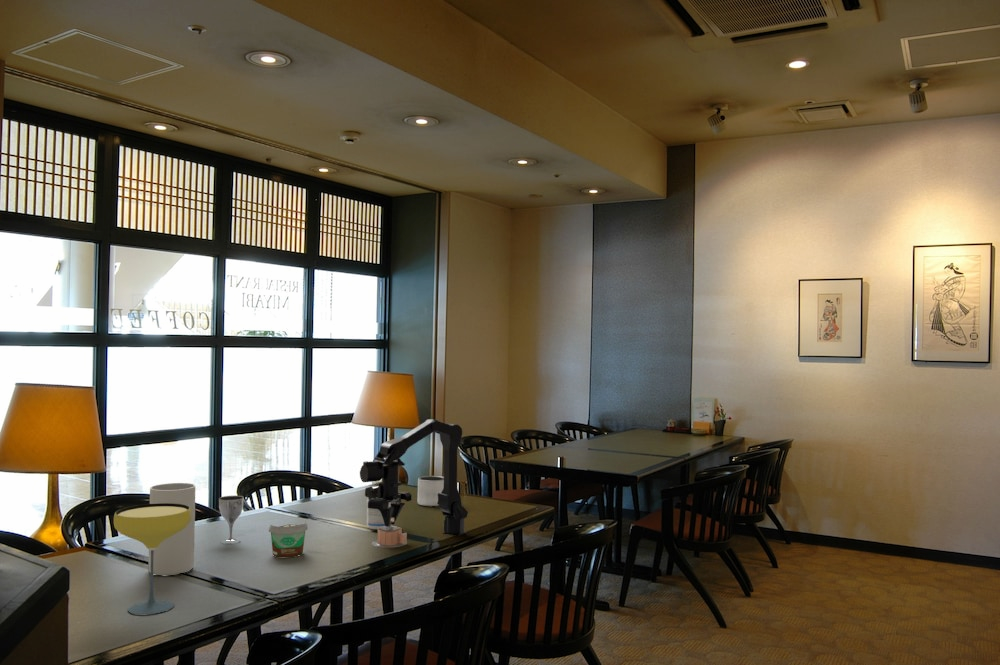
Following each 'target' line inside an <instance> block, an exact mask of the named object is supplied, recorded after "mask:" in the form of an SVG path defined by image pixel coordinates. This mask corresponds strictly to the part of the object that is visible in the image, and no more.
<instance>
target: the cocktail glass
mask: <svg viewBox="0 0 1000 665" xmlns="http://www.w3.org/2000/svg"><path fill="white" fill-rule="evenodd" d="M190 519H191V510H190V507H189V506H187V505H183V504H173V503H157V504H150V503H147V504H145V503H144V504H139V505H132V506H127V507H124V508H120V509H117V510H116V511H115V512H114V515H113V525H114V526H113V527H114V529H115V530H116V531H117V532H118V533H119V534H121V535H123V536H125V537H128V538H130V539H133V540H135V541H138V542H140V543H142V544H143V546H144V547H146V549H147V550H148V551H149V550H151V574H150V580H149V581H150V582H149V595H148V598H147V601H142V602H138V603H135V604H133V605H131V606H129V607H130V608H128V609H129V610H128V609H127V612H128V611H129V612H130V613H132V614H131V615H133V614H154V615H156V614H155V613H159V614H161V613H160V612H163V613H165V612H164V611H166V610H169V609H171V608H172V607H173V606H174V607H175V604H174V603H173V602H172V601H169V600H158V599H156V600H155V595H154V575H153V557H154V550H155V549H156V548H157V547H158V546H159V545H160V543H161V542H162V541H164V540H165V539H167V538H168V537H170V536H172V535H174V534H176V533H178V532H179V531H181V530H182V529H184V528H185V527H186V526H187V525H188V524H189V522H190ZM174 607H173V608H174ZM173 608H172V609H173ZM172 609H171V610H172ZM169 611H170V610H169ZM129 612H128V613H129ZM166 612H167V611H166ZM130 613H129V614H130Z"/></svg>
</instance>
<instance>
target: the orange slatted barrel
mask: <svg viewBox="0 0 1000 665" xmlns="http://www.w3.org/2000/svg"><path fill="white" fill-rule="evenodd" d="M388 531H391V532H388ZM407 537H408V533H407V532H402V527H398V526H396V525H392V526H391V529H388V527H386V526H383V527H380V528H378V529H377V542H378V544H379V545H382V546H395V545H399V544H403V543H406V542H407V543H408V538H407Z"/></svg>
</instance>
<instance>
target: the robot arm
mask: <svg viewBox="0 0 1000 665" xmlns="http://www.w3.org/2000/svg"><path fill="white" fill-rule="evenodd" d="M432 433H435V434H438V435H439V438H440V443H441V444H442V445H441V446H442V447H443V477H444V488H443V490H442V492H441V493H438V502H437V504H439V506H438V507H439V510H441V514H442V516H445V517H444V520H443V532H442V534H443V535H447V536H456V537H459V536H462V535H464V534H467V531H466V530H465V519H466V518H467V517H468V513H469V511H468V510H467V509H466V508H465V507H464V506H463V502H462V496H461V494H460V492H459V489H458V448H459V446H460V444H461V442H462V438H463V428H462V427H461V426H460V425H459V424H457V423H456V424H455V423H450V422H446V423H445V422H442V421H439V420H438V419H433V418H429V419H426V420H425V421H424V422H422V423H421V424H420V425H418V426H416V427H415V428H413V429H412V430H410V431H408V432H407V433H405V434H404V435H402V436H400V437H397V438H393V439H389V440H387V441H384V442H383V443H381V445H380V448H379V451H378V452H377V454H376V455H375V457H374V459H373V460H372V461H367V460H366V461H363V462H362V466H361V467H360V470H359V478H360V480H361V482H362V483H371V482H379V481H381V482H379V483H378V486H379V487H377V486H376V487H377V488H374V489H373V488H372V487H373V486H369V487H366V488H365V490H364V496H365V497H366V498H367V497H368V499H369V501H368V508H371V509H378V510H379V511H380V512H381V514H382V517H383V520H384V524H385V526H386V527H388V526H389V524H390V520H391V517H394V522H392V523H391V525H392V526H395V524H396V521H397V519H398V517H399V515H400V513H401V511H402V509H403V508H404V506H405V502H410V501H412V496H413V495H412V494H411V492H410V491H400V488H399V487H400V486H402V481H400V467H402V466H403V467H404V466H406V465H405V464H406V463H405V462H404V461H402V459H401V458H402V457H403V456H404V455H405V454H406V453H407V451H408V449H410V447H412V446H414V445H415V444H417V443H418V442H419V441H421V440H424V438H426V437H427V436H429V435H431V434H432ZM377 497H378V498H377ZM372 498H374V499H372ZM381 498H382V499H381ZM402 500H403V501H405V502H402Z"/></svg>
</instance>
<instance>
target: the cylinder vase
mask: <svg viewBox="0 0 1000 665" xmlns="http://www.w3.org/2000/svg"><path fill="white" fill-rule="evenodd" d="M157 503H173V504H183V505H187V506H189V507H190V510H191V519H190V522H189V524H188V525H187V526H186V527H185V528H184V529H182V530H181V531H179V532H178V533H176V534H174V535H172V536H170V537H168V538H167V539H165V540H164V541H162V542H161V543H160V545H159V546H158V547H157V548H156V549H155V550H154V557H153V574H156V575H173V574H179V573H183V572H185V571H188V570H190V569H192V568H193V567H194V568H195V538H196V537H195V536H196V535H195V531H196V530H195V526H196V522H195V521H196V520H195V519H196V484H194V483H189V482H186V483H185V482H171V483H162V484H156V485H152V486H151V487H149V504H157ZM194 568H193V569H194ZM193 569H192V570H193ZM149 572H150V573H151V550H149V549H148V573H149ZM150 573H149V574H150Z"/></svg>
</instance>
